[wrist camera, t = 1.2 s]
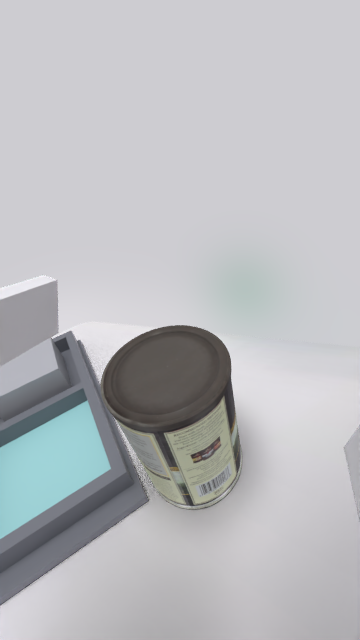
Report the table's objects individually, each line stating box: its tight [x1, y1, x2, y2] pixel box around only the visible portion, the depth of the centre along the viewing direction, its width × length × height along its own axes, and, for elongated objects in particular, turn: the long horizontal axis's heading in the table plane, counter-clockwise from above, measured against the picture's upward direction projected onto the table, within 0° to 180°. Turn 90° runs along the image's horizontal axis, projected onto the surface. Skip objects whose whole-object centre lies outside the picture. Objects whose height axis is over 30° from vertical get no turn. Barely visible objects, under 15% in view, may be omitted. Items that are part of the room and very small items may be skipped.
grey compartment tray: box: [0, 331, 149, 605], centre depth 34 cm, size 16×30×6 cm, turn 29°
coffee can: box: [101, 325, 242, 509], centre depth 25 cm, size 10×10×14 cm
